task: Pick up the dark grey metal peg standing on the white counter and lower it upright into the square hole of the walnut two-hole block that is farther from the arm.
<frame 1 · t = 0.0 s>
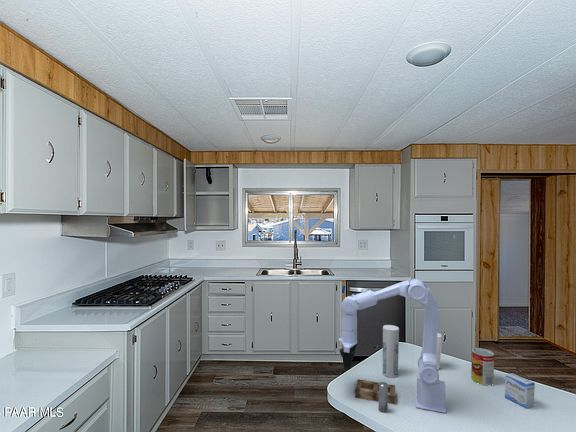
hand: (348, 364, 127), 10 cm above the countertop, tool pointing down, fingers open, 7 cm apart
canned food: (482, 381, 136), on the countertop
spray can: (390, 375, 140), on the countertop
peg: (382, 410, 114), on the countertop
drinking glass: (433, 368, 147), on the countertop
hole block: (375, 395, 124), on the countertop
medicine box: (519, 402, 121), on the countertop
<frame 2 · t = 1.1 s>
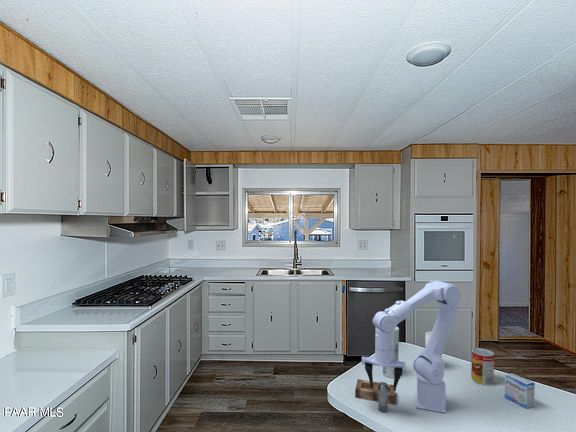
hand: (383, 387, 114), 8 cm above the countertop, tool pointing down, fingers open, 7 cm apart
nothing on the countertop moved.
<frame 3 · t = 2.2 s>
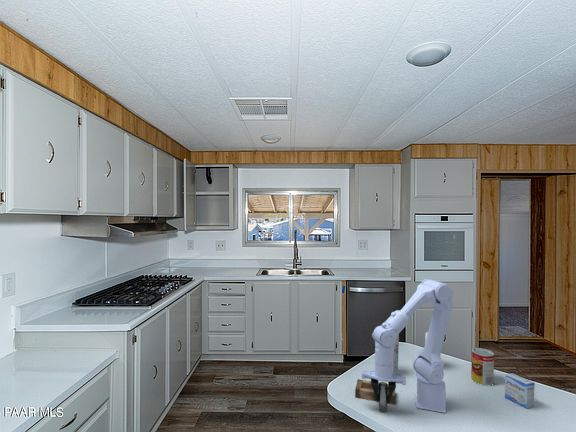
hand: (383, 401, 114), 3 cm above the countertop, tool pointing down, fingers closed on peg, 3 cm apart
peg: (382, 410, 114), on the countertop, touching gripper
everything else where it was.
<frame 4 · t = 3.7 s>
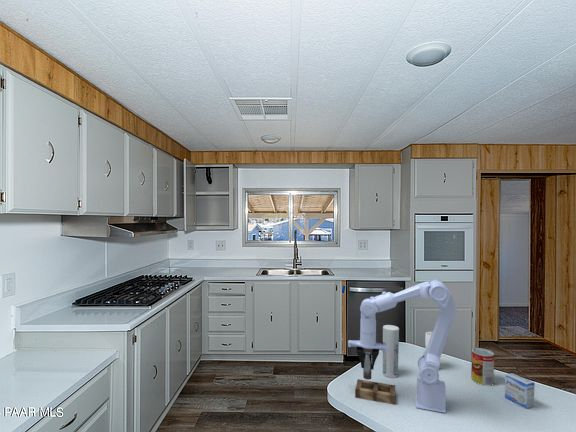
hand: (367, 367, 125), 10 cm above the countertop, tool pointing down, fingers closed on peg, 3 cm apart
peg: (367, 377, 124), point 6 cm above the countertop, touching gripper
everything else where it was.
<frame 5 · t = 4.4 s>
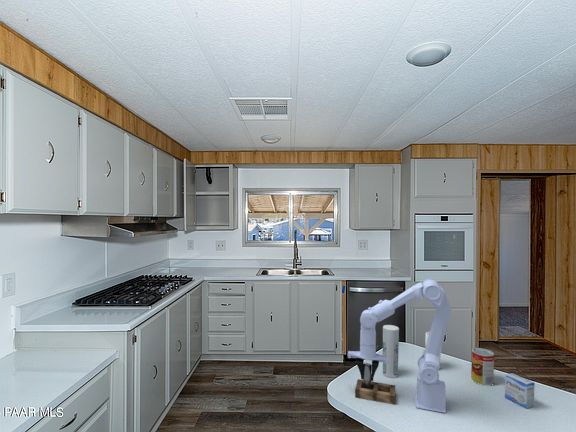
hand: (367, 379, 125), 6 cm above the countertop, tool pointing down, fingers closed on peg, 3 cm apart
peg: (367, 388, 124), point 2 cm above the countertop, touching gripper
everything else where it was.
when the fingers open (4 cm above the countertop, at t = 5.0 s): peg stays where it is, resting in hole block.
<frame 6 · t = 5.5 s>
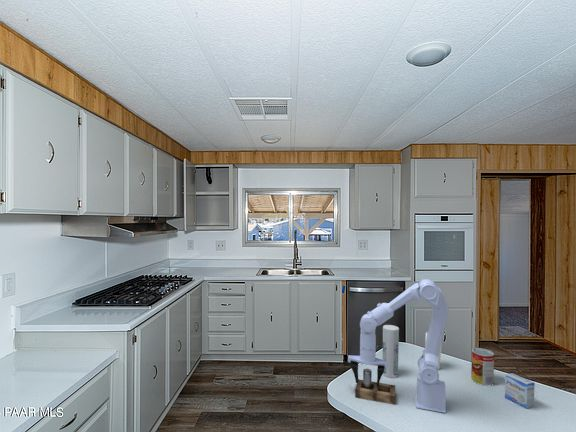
hand: (367, 383, 125), 4 cm above the countertop, tool pointing down, fingers open, 7 cm apart
peg: (367, 394, 124), resting in hole block
everything else where it was.
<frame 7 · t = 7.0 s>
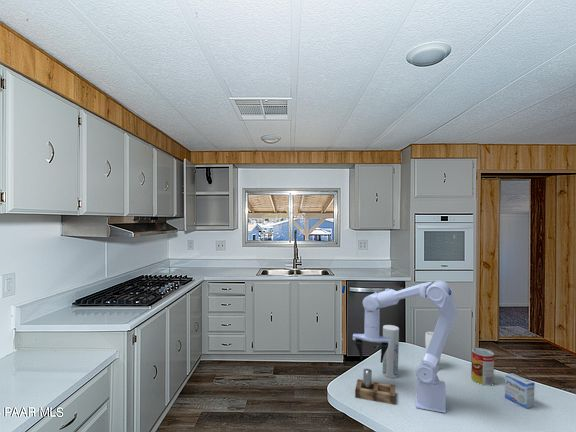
hand: (371, 360, 130), 10 cm above the countertop, tool pointing down, fingers open, 7 cm apart
nothing on the countertop moved.
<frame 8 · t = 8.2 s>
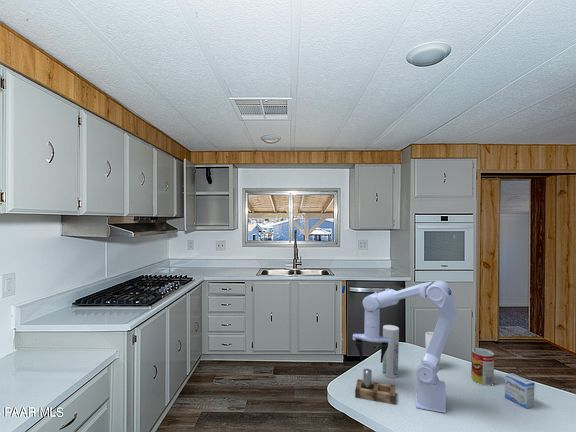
hand: (371, 360, 130), 10 cm above the countertop, tool pointing down, fingers open, 7 cm apart
nothing on the countertop moved.
at the end: peg 0.4 cm from the target spot on the hole block, point 0.0 cm above the hole block's base; peg tilted 0°; the gripper is holding nothing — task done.
